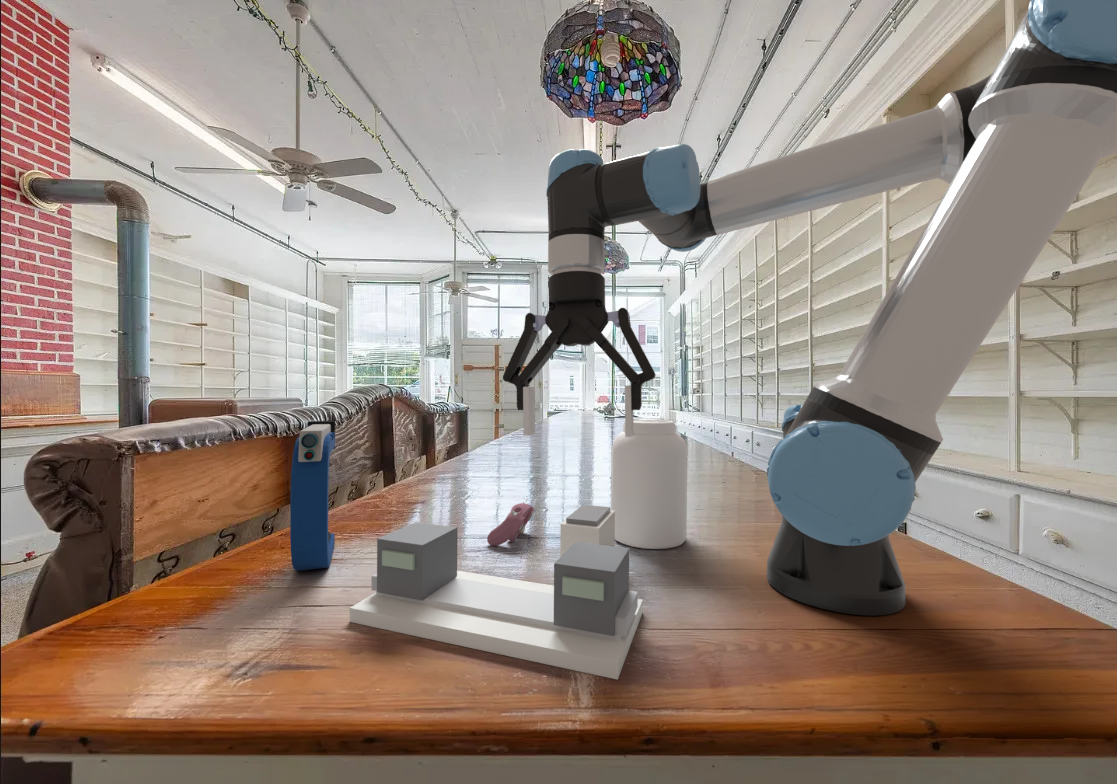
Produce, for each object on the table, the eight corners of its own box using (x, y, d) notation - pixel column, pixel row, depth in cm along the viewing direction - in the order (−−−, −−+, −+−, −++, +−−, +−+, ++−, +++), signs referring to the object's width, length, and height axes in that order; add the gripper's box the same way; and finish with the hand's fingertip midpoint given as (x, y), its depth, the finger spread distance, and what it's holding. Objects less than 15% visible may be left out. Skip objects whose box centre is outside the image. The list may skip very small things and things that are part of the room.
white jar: (608, 526, 86) (609, 416, 86) (677, 528, 86) (679, 417, 86) (613, 550, 74) (614, 421, 74) (694, 552, 73) (696, 422, 73)
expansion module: (614, 567, 67) (615, 506, 67) (598, 592, 59) (599, 523, 59) (580, 562, 69) (581, 503, 69) (560, 586, 60) (560, 519, 60)
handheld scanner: (338, 542, 76) (336, 420, 76) (329, 580, 61) (327, 428, 61) (306, 545, 75) (304, 421, 74) (289, 586, 60) (286, 429, 59)
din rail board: (642, 612, 53) (643, 540, 53) (617, 679, 41) (618, 586, 41) (422, 576, 63) (423, 515, 63) (349, 621, 51) (350, 545, 51)
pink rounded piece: (508, 558, 74) (527, 519, 74) (483, 543, 75) (502, 504, 74) (524, 538, 84) (542, 504, 83) (502, 525, 85) (520, 491, 84)
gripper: (673, 275, 64) (675, 433, 64) (499, 287, 70) (500, 431, 70) (672, 260, 56) (674, 439, 56) (478, 275, 63) (479, 436, 63)
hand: (578, 435), depth 63 cm, fingers open, 13 cm apart
